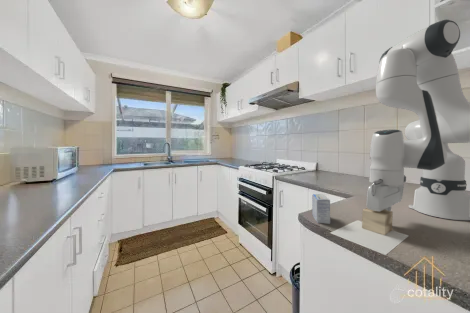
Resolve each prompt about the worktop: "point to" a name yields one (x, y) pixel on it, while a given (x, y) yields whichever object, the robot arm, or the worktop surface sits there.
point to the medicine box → (321, 208)
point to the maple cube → (377, 221)
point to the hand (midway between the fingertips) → (384, 218)
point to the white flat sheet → (370, 237)
